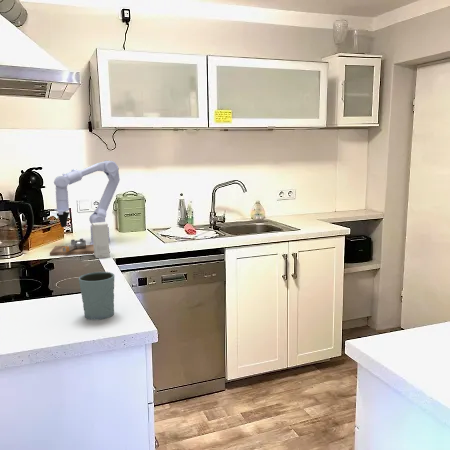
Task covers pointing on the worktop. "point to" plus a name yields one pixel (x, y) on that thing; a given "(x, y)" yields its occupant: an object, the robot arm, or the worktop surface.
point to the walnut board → (72, 251)
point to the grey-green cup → (97, 294)
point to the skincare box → (100, 240)
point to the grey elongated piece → (75, 245)
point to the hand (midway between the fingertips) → (63, 226)
